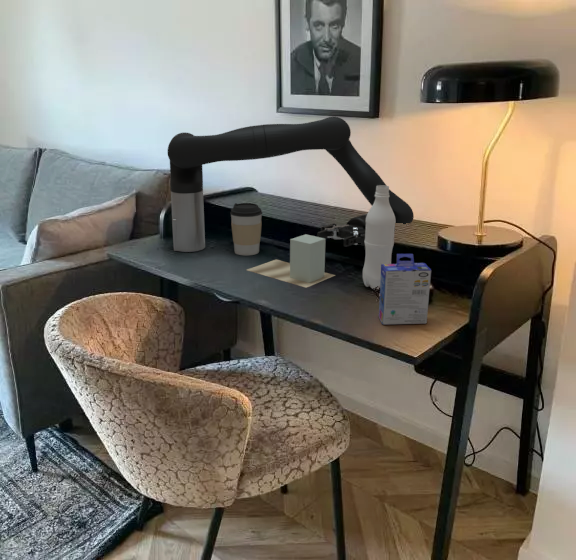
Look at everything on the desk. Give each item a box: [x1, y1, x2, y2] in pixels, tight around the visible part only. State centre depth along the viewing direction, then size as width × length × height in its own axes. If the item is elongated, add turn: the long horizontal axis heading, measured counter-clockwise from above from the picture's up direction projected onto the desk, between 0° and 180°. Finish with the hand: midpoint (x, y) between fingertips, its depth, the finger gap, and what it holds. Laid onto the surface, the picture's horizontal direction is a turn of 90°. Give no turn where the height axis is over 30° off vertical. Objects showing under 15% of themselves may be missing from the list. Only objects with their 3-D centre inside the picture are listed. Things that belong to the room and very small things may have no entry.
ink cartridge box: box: [378, 253, 432, 325], centre depth 129 cm, size 10×6×14 cm, turn 95°
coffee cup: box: [229, 202, 263, 256], centre depth 171 cm, size 9×9×15 cm
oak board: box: [246, 259, 336, 288], centre depth 156 cm, size 20×12×5 cm, turn 50°
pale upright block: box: [289, 233, 327, 283], centre depth 151 cm, size 6×6×10 cm
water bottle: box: [362, 185, 396, 290], centre depth 147 cm, size 7×7×25 cm
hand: (331, 239), depth 158 cm, fingers open, 8 cm apart
